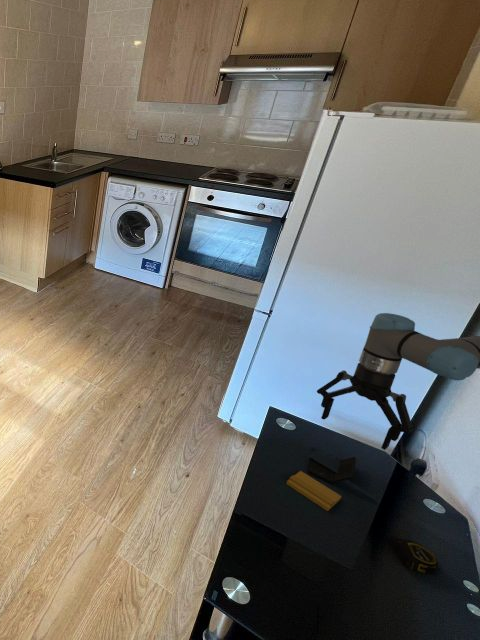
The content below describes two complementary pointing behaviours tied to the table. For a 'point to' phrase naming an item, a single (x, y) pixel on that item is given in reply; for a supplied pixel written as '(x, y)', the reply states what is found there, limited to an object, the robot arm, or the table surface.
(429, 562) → the tape measure
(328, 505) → the block
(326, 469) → the dark brown faceted prism
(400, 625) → the table surface
